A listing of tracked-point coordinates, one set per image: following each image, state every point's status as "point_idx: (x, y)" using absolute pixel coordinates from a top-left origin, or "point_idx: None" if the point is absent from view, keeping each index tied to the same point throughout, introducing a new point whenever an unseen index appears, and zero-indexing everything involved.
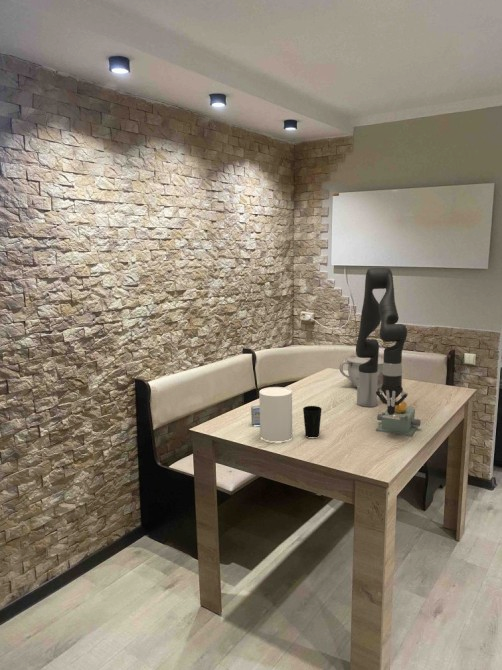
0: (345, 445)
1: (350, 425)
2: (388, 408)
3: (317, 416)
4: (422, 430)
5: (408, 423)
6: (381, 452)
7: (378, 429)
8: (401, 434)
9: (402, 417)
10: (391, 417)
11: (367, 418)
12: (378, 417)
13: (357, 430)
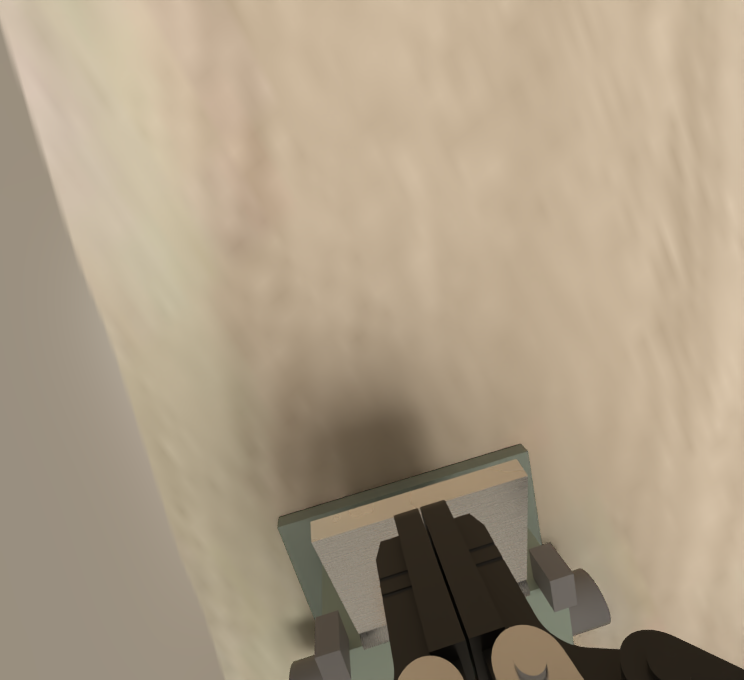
0: (598, 11)
1: (700, 417)
2: (494, 584)
3: None
4: (283, 640)
5: (324, 611)
6: (281, 66)
7: (511, 457)
8: (349, 498)
9: (356, 625)
10: (409, 503)
11: (646, 580)
12: (585, 584)
13: (630, 370)
